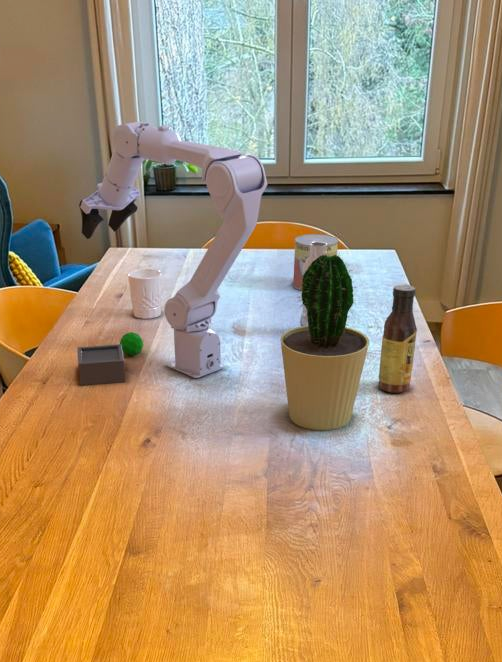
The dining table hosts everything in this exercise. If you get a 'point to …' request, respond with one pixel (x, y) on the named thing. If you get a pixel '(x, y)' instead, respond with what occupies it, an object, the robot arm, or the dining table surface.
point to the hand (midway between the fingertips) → (99, 231)
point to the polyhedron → (131, 344)
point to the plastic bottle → (314, 250)
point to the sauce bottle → (398, 342)
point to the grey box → (101, 364)
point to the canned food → (303, 253)
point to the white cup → (145, 292)
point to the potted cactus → (324, 349)
